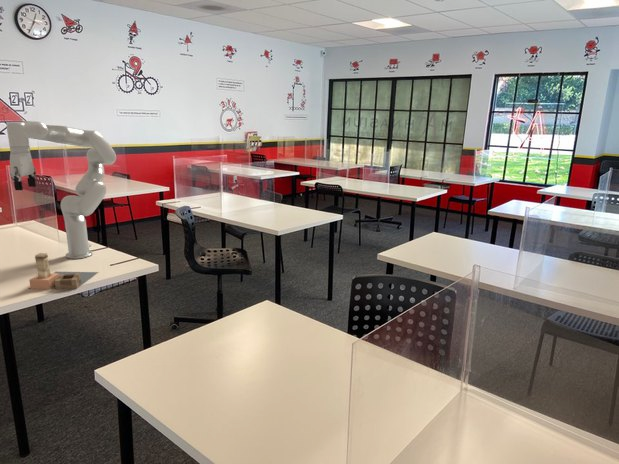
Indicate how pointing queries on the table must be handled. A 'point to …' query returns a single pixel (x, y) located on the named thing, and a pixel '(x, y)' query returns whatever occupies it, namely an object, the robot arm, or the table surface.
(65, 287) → the brown square ring
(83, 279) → the charcoal mat
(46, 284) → the salmon pink square box
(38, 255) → the beige wooden post
